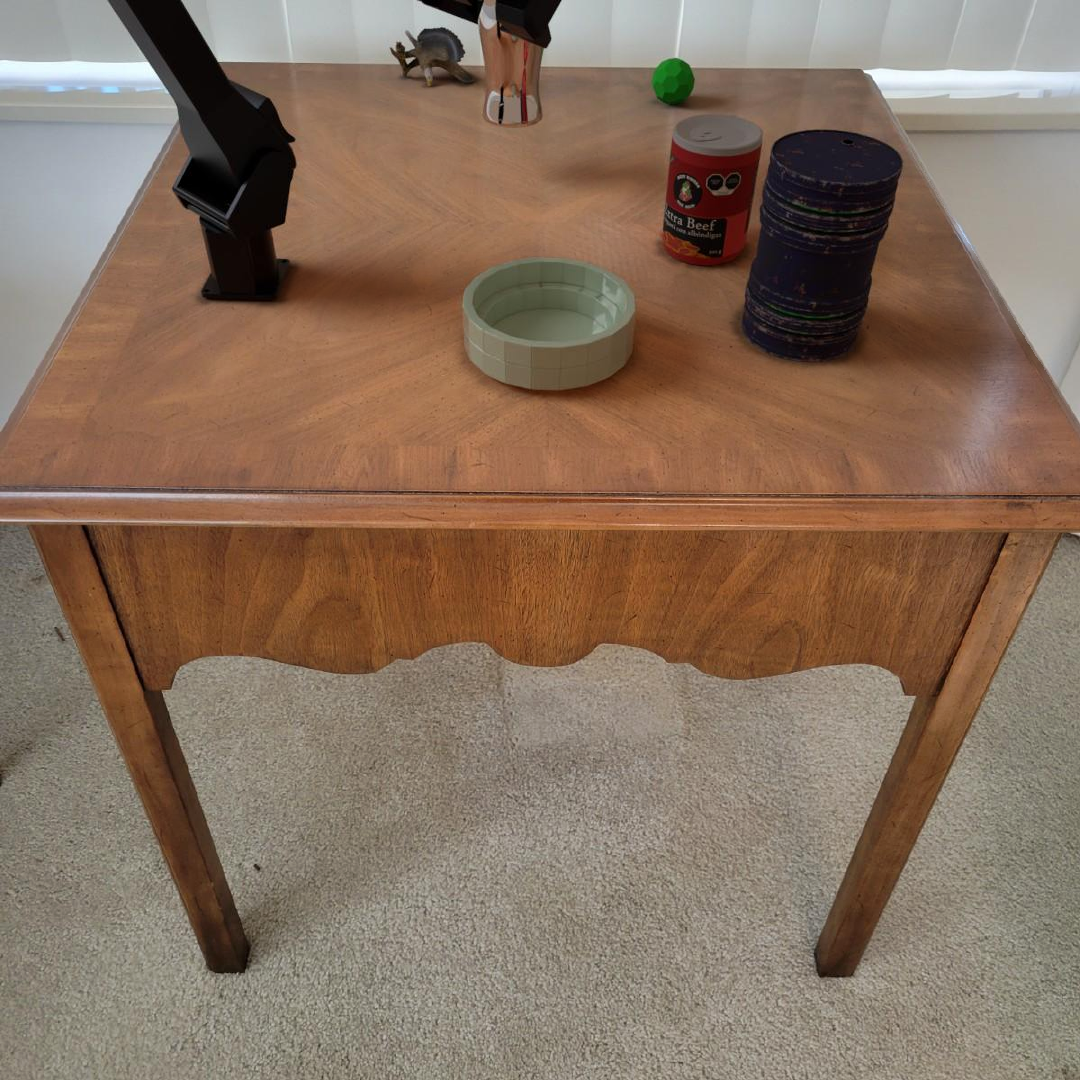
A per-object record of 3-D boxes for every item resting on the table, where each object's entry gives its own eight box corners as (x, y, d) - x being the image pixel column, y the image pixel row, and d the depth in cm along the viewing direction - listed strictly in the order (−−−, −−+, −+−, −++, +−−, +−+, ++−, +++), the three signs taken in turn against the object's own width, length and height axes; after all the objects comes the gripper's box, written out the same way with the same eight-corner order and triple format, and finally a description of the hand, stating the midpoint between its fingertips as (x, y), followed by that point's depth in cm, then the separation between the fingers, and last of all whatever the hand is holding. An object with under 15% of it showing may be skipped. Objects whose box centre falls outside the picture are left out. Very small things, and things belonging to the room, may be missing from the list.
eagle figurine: (393, 84, 122) (466, 71, 121) (385, 20, 121) (458, 7, 119) (410, 99, 129) (479, 87, 128) (402, 39, 128) (471, 27, 127)
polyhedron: (695, 109, 120) (699, 67, 117) (653, 110, 120) (657, 68, 117) (687, 94, 124) (692, 52, 121) (647, 94, 124) (651, 53, 120)
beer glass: (544, 131, 101) (548, -40, 91) (474, 127, 101) (470, -43, 91) (549, 107, 106) (553, -57, 96) (482, 104, 106) (480, -60, 96)
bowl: (633, 399, 78) (638, 349, 75) (457, 393, 79) (454, 343, 75) (629, 306, 88) (633, 259, 85) (472, 301, 88) (470, 254, 85)
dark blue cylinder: (837, 375, 81) (883, 196, 71) (722, 341, 84) (750, 165, 74) (872, 318, 87) (920, 145, 77) (764, 288, 91) (795, 119, 80)
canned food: (644, 247, 96) (655, 130, 88) (695, 219, 100) (709, 105, 92) (710, 276, 92) (727, 157, 84) (760, 246, 96) (781, 129, 89)
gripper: (560, -149, 80) (638, -20, 94) (406, -181, 90) (497, -60, 103) (488, -20, 81) (576, 89, 95) (344, -65, 91) (442, 40, 104)
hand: (522, 34), depth 99 cm, fingers closed on beer glass, 7 cm apart
